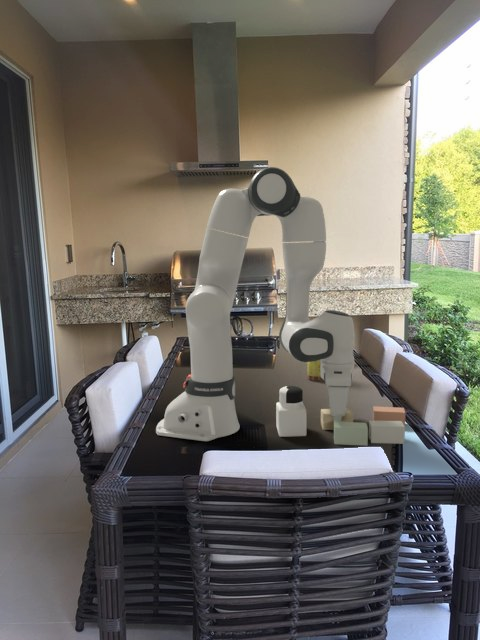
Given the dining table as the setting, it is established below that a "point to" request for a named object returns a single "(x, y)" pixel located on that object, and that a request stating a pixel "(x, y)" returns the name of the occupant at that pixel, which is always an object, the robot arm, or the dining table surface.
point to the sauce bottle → (314, 370)
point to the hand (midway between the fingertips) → (336, 420)
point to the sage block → (350, 433)
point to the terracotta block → (389, 414)
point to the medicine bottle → (291, 412)
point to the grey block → (386, 432)
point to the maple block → (328, 419)
